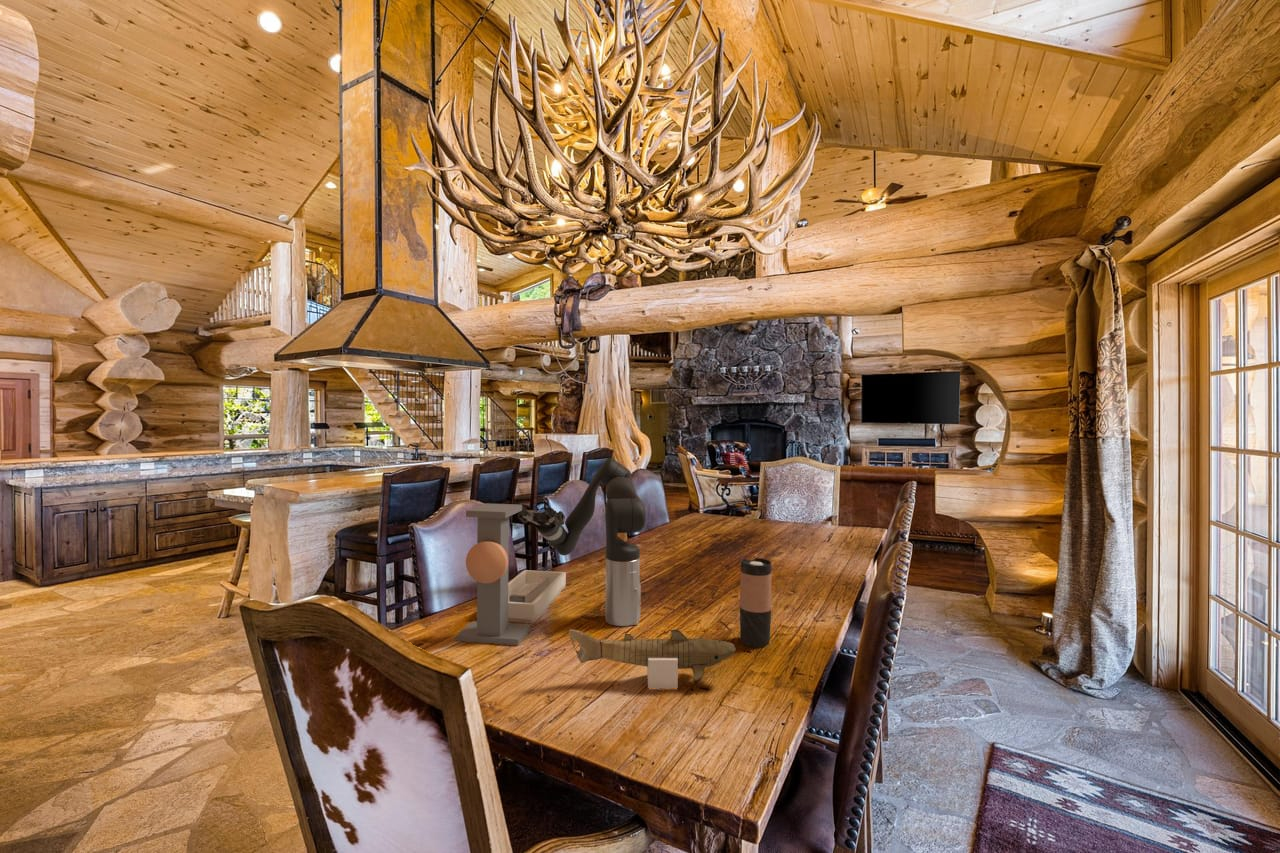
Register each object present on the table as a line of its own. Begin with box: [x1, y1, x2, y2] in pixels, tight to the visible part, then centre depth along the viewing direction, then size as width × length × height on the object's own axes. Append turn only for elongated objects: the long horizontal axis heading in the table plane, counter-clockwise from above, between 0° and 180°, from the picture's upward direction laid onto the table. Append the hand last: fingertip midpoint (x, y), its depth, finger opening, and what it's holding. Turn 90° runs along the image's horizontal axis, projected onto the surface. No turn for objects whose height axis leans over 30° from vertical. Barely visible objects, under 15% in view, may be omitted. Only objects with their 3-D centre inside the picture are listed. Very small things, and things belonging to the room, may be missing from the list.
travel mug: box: [739, 557, 772, 648], centre depth 130 cm, size 8×8×20 cm
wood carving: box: [568, 629, 736, 690], centre depth 110 cm, size 9×35×11 cm, turn 91°
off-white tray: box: [508, 569, 567, 624], centre depth 157 cm, size 14×30×5 cm, turn 172°
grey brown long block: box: [509, 576, 549, 603], centre depth 158 cm, size 4×22×4 cm, turn 169°
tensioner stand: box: [455, 502, 532, 647], centre depth 132 cm, size 16×11×32 cm
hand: (535, 509), depth 161 cm, fingers open, 8 cm apart
